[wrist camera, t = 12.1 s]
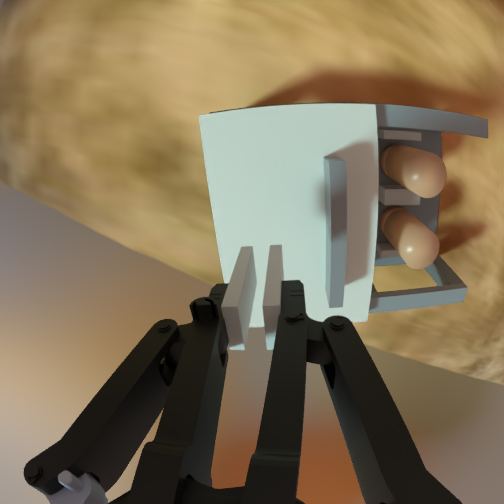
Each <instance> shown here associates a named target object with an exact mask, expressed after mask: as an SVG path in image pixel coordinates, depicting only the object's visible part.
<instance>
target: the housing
mask: <svg viewBox="0 0 504 504" xmlns="http://www.w3.org/2000/svg"><path fill="white" fill-rule="evenodd" d="M329 103H343V102H328V103H296V104H329ZM296 104H280V105H296ZM343 104H374V103H343ZM280 105H267V106H280ZM375 105H376V118H377V134H378V166H379V188H378V221H377V238H376V251H375V263H374V266H385V265H399V264H406V263H405V261H404V260H403V259H402V257H401V256H400V255H399V253H398V252H397V251H396V249H395V248H394V247H393V245H392V244H391V243H390V242H389V240H388V239H387V238H386V237H385V235H384V234H383V233H382V231H381V230H380V227H379V219H380V216H381V214H382V213H383V211H384V210H385V209H386V208H388V207H389V206H392V205H400V206H402V207H404V208H405V209H406V210H407V211H409V212H410V213H411V214H412V215H414V216H415V217H416V218H417V219H418V220H420V221H421V222H422V223H423V224H424V225H425V226H427V227H428V228H429V229H430V230H431V231H432V232H434V233H435V234H436V228H437V220H438V210H439V199H440V193H439V194H438V195H436V196H434V197H432V198H423V197H421V196H419V195H417V194H415V193H414V192H412V191H411V190H409V189H407V188H406V187H404V186H402V185H401V184H399V183H397V182H396V181H394V180H392V179H390V178H389V177H387V176H386V175H385V174H384V173H383V171H382V169H381V167H380V156H381V153H382V151H383V150H384V149H385V148H386V147H387V146H389V145H391V144H399V145H404V146H408V147H412V148H416V149H420V150H424V151H427V152H431V153H434V154H436V155H437V156H439V157H440V158H441V131H443V132H451V133H458V134H465V135H471V136H477V137H482V138H488V119H484V118H479V117H475V116H470V115H465V114H460V113H454V112H448V111H442V110H435V109H428V108H420V107H412V106H402V105H390V104H375ZM267 106H257V107H267ZM257 107H248V108H257ZM248 108H239V109H248ZM239 109H231V110H239ZM231 110H224V111H231ZM224 111H218V112H224ZM218 112H211V113H218ZM211 113H209V114H211ZM425 269H426V271H427V272H428V273H429V274H430V276H431V277H432V278H433V280H434V281H435V282H436V283H437V285H438V286H436V287H427V288H418V289H408V290H398V291H387V292H377V291H376V289H375V287H374V285H373V283H372V290H371V298H370V305H369V312H368V313H379V312H388V311H398V310H406V309H415V308H423V307H430V306H437V305H444V304H451V303H457V302H463V301H464V298H465V295H466V292H467V288H468V287H467V286H466V285H465V284H464V283H463V281H462V280H461V279H460V278H459V277H458V276H457V275H456V273H455V272H454V271H453V270H452V269H451V268H450V267H449V266H448V265H447V264H446V263H445V261H444V260H443V259H442V258H441V257H440V256H439V255H437V257H436V259H435V260H434V262H433V263H432V264H431V265H429V266H428V267H426V268H425Z"/></svg>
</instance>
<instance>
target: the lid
mask: <svg viewBox="0 0 504 504" xmlns="http://www.w3.org/2000/svg"><path fill="white" fill-rule="evenodd" d="M199 122H200V130H201V138H202V145H203V152H204V160H205V167H206V174H207V180H208V187H209V194H210V200H211V207H212V213H213V219H214V226H215V232H216V238H217V244H218V250H219V256H220V261H221V267H222V273H223V278H224V283H229V281H230V278H231V275H232V272H233V269H234V266H235V263H236V261H237V258H238V255H239V252H240V249H241V247H244V246H253V252H254V261H255V269H256V278H257V285H256V291H255V297H254V302H253V308H252V313H251V319H250V325H249V327H264V317H263V308H262V304H263V296H264V289H265V281H266V273H267V265H268V257H269V249H270V245H281V244H282V255H283V270H284V281H286V280H300V281H301V282H302V283H303V284H304V294H305V306H306V313H307V315H308V317H310V318H311V319H313V320H316V321H320V322H324V320H325V319H326V318H328V317H330V316H335V315H340V316H344V317H346V318H348V319H349V320H350V321H351V322H362V321H367V318H368V312H369V305H370V298H371V290H372V282H373V273H374V263H375V251H376V238H377V221H378V188H379V166H378V134H377V118H376V105H375V104H343V103H329V104H296V105H280V106H267V107H257V108H248V109H239V110H231V111H224V112H218V113H211V114H205V115H199Z"/></svg>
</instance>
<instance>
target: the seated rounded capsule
mask: <svg viewBox="0 0 504 504" xmlns="http://www.w3.org/2000/svg"><path fill="white" fill-rule="evenodd" d="M379 227H380V230H381V231H382V233H383V234H384V235H385V237H386V238H387V239H388V240H389V242H390V243H391V244H392V245H393V247H394V248H395V249H396V251H397V252H398V253H399V255H400V256H401V257H402V259H403V260H404V261H405V263H406V264H407V265H408V266H409V267H410V268H412V269H416V270H419V269H424V268H426V267H428V266H429V265H431V264H432V263H433V262H434V260H435V259H436V257H437V255H438V253H439V248H440V244H439V239H438V237H437V235H436V234H435V233H434V232H432V231H431V230H430V229H429V228H428V227H427V226H425V225H424V224H423V223H422V222H421V221H420V220H418V219H417V218H416V217H415V216H414V215H412V214H411V213H410V212H409V211H407V210H406V209H405V208H404V207H402V206H400V205H392V206H389V207H388V208H386V209H385V210H384V211H383V213H382V214H381V216H380V219H379Z"/></svg>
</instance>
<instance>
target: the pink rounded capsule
mask: <svg viewBox="0 0 504 504" xmlns="http://www.w3.org/2000/svg"><path fill="white" fill-rule="evenodd" d="M380 167H381V169H382V171H383V173H384V174H385V175H386V176H387V177H389V178H390V179H392V180H394V181H396V182H397V183H399V184H401V185H402V186H404V187H406V188H407V189H409V190H411V191H412V192H414V193H415V194H417V195H419V196H421V197H423V198H432V197H434V196H436V195H438V194H439V193H440V192H441V191H442V189H443V188H444V185H445V183H446V177H447V172H446V167H445V164H444V162H443V161H442V159H441V158H440V157H439V156H437V155H436V154H434V153H431V152H427V151H424V150H420V149H416V148H412V147H408V146H404V145H399V144H391V145H389V146H387V147H386V148H385V149H384V150H383V151H382V153H381V156H380Z"/></svg>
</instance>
